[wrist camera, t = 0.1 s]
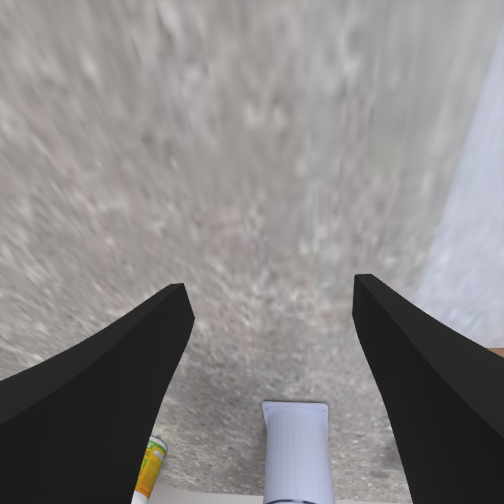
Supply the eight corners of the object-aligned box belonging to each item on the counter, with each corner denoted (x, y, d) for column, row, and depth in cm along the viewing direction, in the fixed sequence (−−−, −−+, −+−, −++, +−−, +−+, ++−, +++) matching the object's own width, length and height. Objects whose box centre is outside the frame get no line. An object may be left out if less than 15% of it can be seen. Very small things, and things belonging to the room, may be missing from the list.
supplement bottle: (158, 433, 38) (121, 523, 29) (173, 451, 40) (143, 539, 31) (130, 434, 39) (87, 521, 31) (146, 452, 41) (110, 536, 33)
